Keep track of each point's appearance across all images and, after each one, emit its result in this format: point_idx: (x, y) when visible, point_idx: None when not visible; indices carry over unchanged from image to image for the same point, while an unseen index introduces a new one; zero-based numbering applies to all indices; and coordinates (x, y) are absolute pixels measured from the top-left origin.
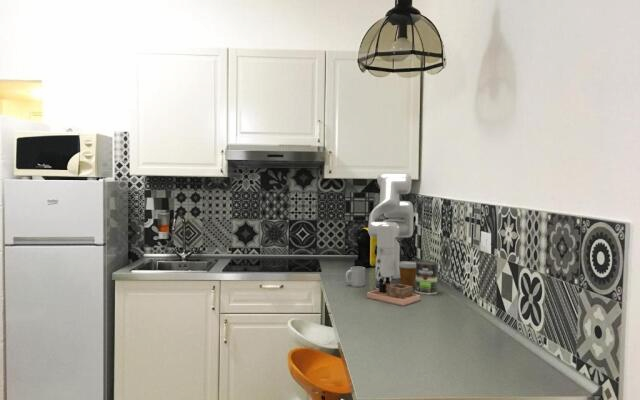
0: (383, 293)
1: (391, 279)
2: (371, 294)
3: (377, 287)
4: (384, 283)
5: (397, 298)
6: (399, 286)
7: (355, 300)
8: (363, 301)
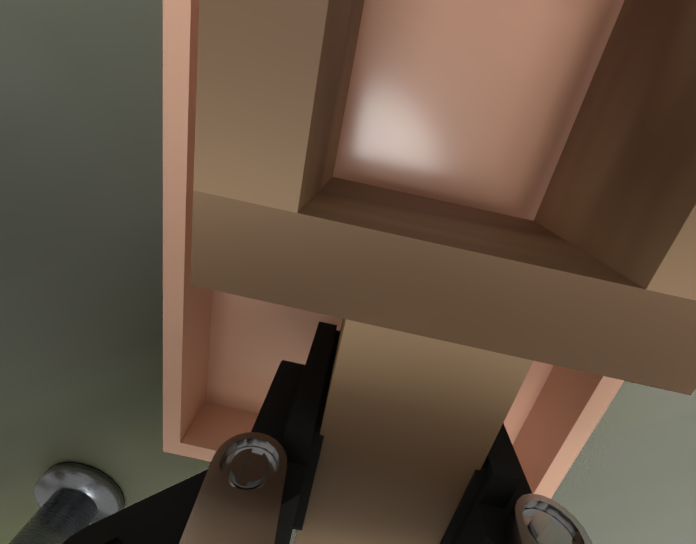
0: (250, 397)
1: (193, 503)
2: (554, 470)
3: (91, 510)
4: (523, 513)
5: (396, 153)
6: (315, 158)
7: (653, 518)
8: (672, 453)
